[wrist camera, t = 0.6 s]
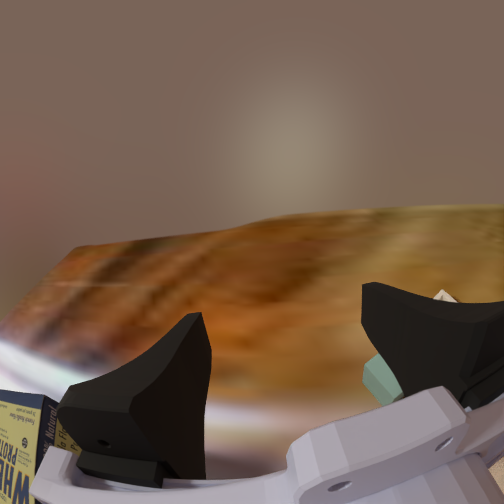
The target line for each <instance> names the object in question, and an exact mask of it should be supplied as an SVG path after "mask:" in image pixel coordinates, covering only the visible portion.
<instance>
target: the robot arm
mask: <svg viewBox="0 0 504 504" xmlns="http://www.w3.org/2000/svg"><path fill="white" fill-rule="evenodd" d="M361 324H362V326H363V328H364V330H365V332H366V334H367V336H368V338H369V339H370V341H371V342H372V344H373V345H374V347H375V348H376V350H377V351H378V352H379V354H380V355H381V357H382V358H383V359H384V361H385V362H386V364H387V365H388V367H389V368H390V369H391V371H392V373H393V374H394V376H395V378H396V380H397V382H398V384H399V386H400V388H401V390H402V392H403V394H404V396H405V398H404V399H401V400H398V401H396V402H393V403H390V404H388V405H385V406H382V407H379V408H376V409H373V410H370V411H367V412H364V413H361V414H357V415H354V416H351V417H347V418H344V419H340V420H336V421H332V422H330V423H327V424H324V425H322V426H319V427H316V428H314V429H311V430H309V431H308V432H307V433H305V434H304V435H302V436H301V437H300V438H298V439H297V440H295V441H294V442H293V443H292V444H291V446H290V448H289V450H288V453H287V455H286V458H287V465H288V467H287V469H284V470H281V471H278V472H274V473H270V474H267V475H263V476H259V477H255V478H243V479H226V480H206V473H205V454H204V415H205V405H206V399H207V393H208V386H209V380H210V374H211V360H212V349H211V346H210V342H209V339H208V335H207V332H206V328H205V324H204V321H203V317H202V313H201V312H197V313H189V314H187V315H186V316H184V317H183V318H182V319H181V320H180V321H179V322H178V323H177V324H176V325H175V326H174V327H173V328H172V329H171V330H170V331H169V332H168V333H167V334H166V335H165V336H164V337H162V338H161V339H160V340H159V341H158V342H157V343H155V344H154V345H153V346H152V347H151V348H150V349H148V350H147V351H146V352H144V353H143V354H141V355H140V356H138V357H137V358H135V359H134V360H132V361H130V362H129V363H127V364H125V365H123V366H121V367H120V368H118V369H116V370H114V371H112V372H109V373H107V374H105V375H102V376H100V377H97V378H95V379H92V380H89V381H85V382H82V383H78V384H75V385H71V386H69V388H68V390H67V391H66V393H65V394H64V396H63V398H62V399H61V401H60V403H59V404H58V406H57V408H56V415H57V418H58V420H59V423H60V424H61V426H62V427H63V428H64V430H65V431H66V432H67V433H68V434H69V436H70V437H71V438H72V439H73V440H74V441H75V443H76V444H77V445H78V446H79V447H80V448H81V449H82V451H81V453H80V456H78V455H76V454H75V453H73V452H70V451H67V450H64V449H60V448H57V447H54V446H49V448H48V450H47V452H46V454H45V456H44V459H43V461H42V463H41V465H40V467H39V469H38V471H37V473H36V476H35V478H34V480H33V482H32V485H31V487H30V489H29V494H30V495H32V496H33V497H34V498H35V499H37V500H38V501H40V502H41V503H42V504H504V495H503V493H502V491H501V489H500V488H499V486H498V484H497V483H496V481H495V479H494V478H493V476H492V475H491V473H490V471H489V470H488V469H489V468H490V467H492V466H493V465H494V464H495V463H496V462H497V461H499V460H500V459H501V458H502V457H503V456H504V301H500V302H492V303H458V302H449V301H443V300H437V299H432V298H428V297H424V296H420V295H417V294H413V293H410V292H407V291H404V290H401V289H398V288H395V287H392V286H389V285H385V284H382V283H378V282H371V283H366V284H362V314H361Z"/></svg>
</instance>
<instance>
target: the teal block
mask: <svg viewBox="0 0 504 504" xmlns="http://www.w3.org/2000/svg"><path fill="white" fill-rule="evenodd" d="M362 382H363V383H364V385H365V386H366V387H367V388H368V389H369V391H370V392H371V393H372V394H373V395H374V396H375V398H376V399H377V400H378V401H379V402H380V404H381V405H382V406H385V405H388V404H390V403H393V402H396V401H398V400H400V399H401V398H402V397H403V396H404V394H403V392H402V390H401V388H400V386H399V384H398V382H397V380H396V378H395V376H394V374H393V373H392V371H391V369H390V368H389V367H388V365H387V364H386V362H385V361H384V359H383V358H382V357H381V355H380V354H379V353H378V354H377V355H376V356H374V357H373V358H372V359H371V360H369V361H368V362H367V363H366V364H364V373H363V381H362Z"/></svg>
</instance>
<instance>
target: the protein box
mask: <svg viewBox="0 0 504 504" xmlns="http://www.w3.org/2000/svg"><path fill="white" fill-rule="evenodd" d="M58 404H59V403H58V402H56V401H55V400H53V399H51V398H49V397H48V396H46V395H42V394H31V393H23V392H15V391H8V390H1V389H0V504H42V503H41V502H40V501H38V500H37V499H35V498H34V497H33V496H32V495H30V494H29V489H30V487H31V485H32V482H33V480H34V478H35V476H36V473H37V471H38V469H39V467H40V465H41V463H42V461H43V459H44V456H45V454H46V452H47V450H48V448H49V446H54V447H57V448H60V449H64V450H67V451H70V452H73V453H75V454H76V455H78V456H80V453H81V451H82V449H81V448H80V447H79V446H78V445H77V444H76V443H75V441H74V440H73V439H72V438H71V437H70V436H69V434H68V433H67V432H66V431H65V430H64V428H63V427H62V426H61V424H60V423H59V420H58V418H57V415H56V408H57V406H58Z"/></svg>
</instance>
